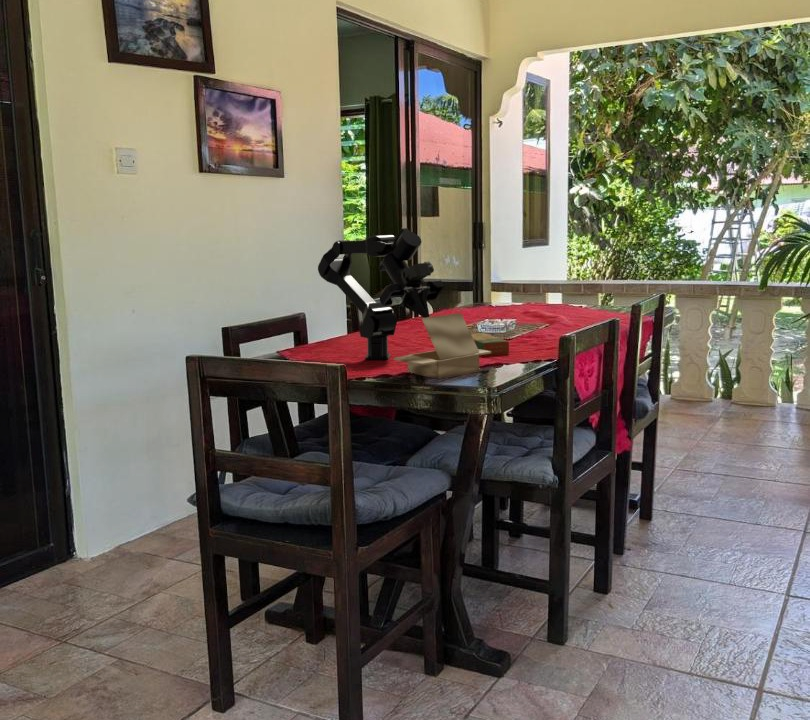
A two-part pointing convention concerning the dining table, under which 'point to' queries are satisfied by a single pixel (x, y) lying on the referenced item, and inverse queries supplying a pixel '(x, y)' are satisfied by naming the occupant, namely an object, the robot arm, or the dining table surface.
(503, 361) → the dining table surface
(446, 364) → the open box
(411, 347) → the dining table surface
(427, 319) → the flap
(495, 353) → the carton
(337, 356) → the dining table surface
